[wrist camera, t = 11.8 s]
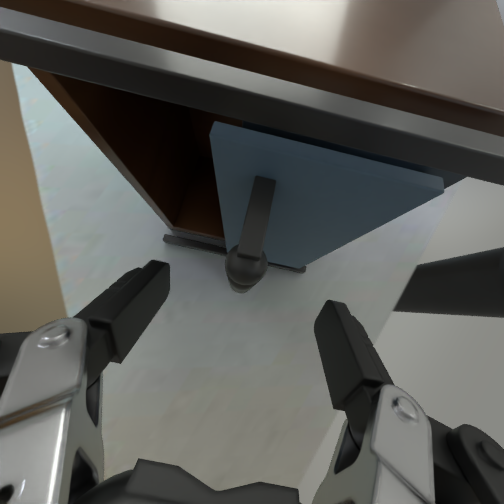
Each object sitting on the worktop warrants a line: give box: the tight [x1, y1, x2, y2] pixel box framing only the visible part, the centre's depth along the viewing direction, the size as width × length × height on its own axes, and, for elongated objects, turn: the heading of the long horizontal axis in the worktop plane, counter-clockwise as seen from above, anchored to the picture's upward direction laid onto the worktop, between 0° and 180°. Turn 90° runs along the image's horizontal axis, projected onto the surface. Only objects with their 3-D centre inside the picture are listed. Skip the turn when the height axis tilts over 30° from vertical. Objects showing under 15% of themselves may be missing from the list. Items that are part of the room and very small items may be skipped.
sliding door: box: [209, 121, 444, 293], centre depth 11 cm, size 7×4×13 cm, turn 78°
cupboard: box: [0, 0, 504, 273], centre depth 13 cm, size 15×12×16 cm
